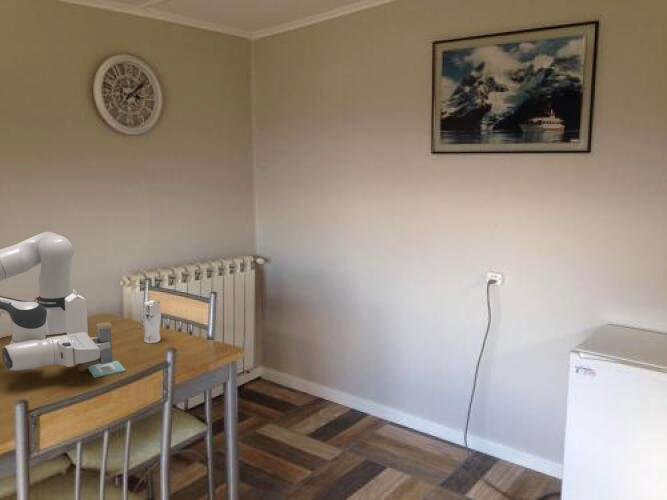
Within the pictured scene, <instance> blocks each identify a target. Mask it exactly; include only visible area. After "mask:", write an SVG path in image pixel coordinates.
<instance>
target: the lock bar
mask: <svg viewBox="0 0 667 500" xmlns="http://www.w3.org/2000/svg"><path fill="white" fill-rule="evenodd" d="M95 327H96V335H97V336H96V338H97V340H98V344H101V343H103V342H107V341H108V342H109V343H110V348H105V349H103V350H101V351H100V358H99V359H98V361H99V362H100V363H99V364H106V363H111V362H113V345H112V344H113V343H112V342H113V341H112V340H113V339H112V328H113V325H112V324H111V322H109V321H105V322H100V323H95Z"/></svg>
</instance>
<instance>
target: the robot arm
mask: <svg viewBox="0 0 667 500" xmlns="http://www.w3.org/2000/svg"><path fill="white" fill-rule="evenodd" d="M74 251H75V249H74V246H73V243H71V240H69V238H67V237H65V236H63V235H60V234H58V233H55V232H53V231H43V232H41V233H39V234H37V235H34V236H31V237H30V238H27V239H25V240H23V241H21V242H18V243H16V244H13V245H10V246H7V247H4V248H0V282H1V281H3V280H6V279H7V280H8V279H10V278H12V277H15V276H18V275H21V274H25V273H26V272H28V271H30V270H31V269H33V268H35V267H36V266H38V265H40V264H41V265H40V272H39V276H38V283H39V285H38V287H39V295H38V296H37V297H34V300H22V299H16V298H13V297H8V296H5V295H4V296H3V295H0V318H1V317H2V314H5V315H8V316H9V319H10V323H11V340H10V343H9V344H8V345H7V344H6V345H5V346H3V348H2V354H1V355H2V360H3V364H4V366H5V368H6V369H8V370H10V371H28V370H34V369H39V368H41V367H43V366H57V365H58V366H59V365H60V366H64V367H67V368H70V367H74V366H75V364H76V365H77V364H80V363H85V362H90V361H94V360H97V359H99V358H100V351H101V350H103V349H105V348H110V343H109V342H108V341H107V342H103V343H101V344H98V340H97V337H96V336H95V337H91V336H89V334H88V335H87V333H85V332H80V333H74V334H69V335H67V333H66V314H65V298H66V297H68V296H69V295H71V294H72V293H71V276H70V275H71V267H72V262H73V261H72V259H73V256H74ZM65 333H66V334H65ZM61 334H63V335H61ZM50 335H56V336H50ZM47 336H49V337H47Z"/></svg>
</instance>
